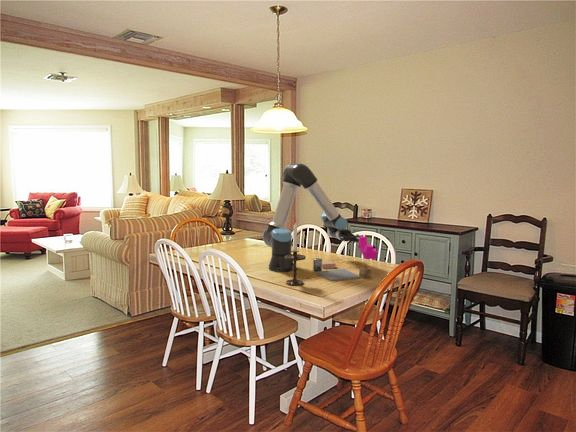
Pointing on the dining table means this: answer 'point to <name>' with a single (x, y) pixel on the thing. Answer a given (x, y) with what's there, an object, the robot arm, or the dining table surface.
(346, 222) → the robot arm
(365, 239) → the toy block
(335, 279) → the slate mat
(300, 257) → the candlestick
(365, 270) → the walnut cube
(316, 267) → the metal peg
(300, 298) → the dining table surface
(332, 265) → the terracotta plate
